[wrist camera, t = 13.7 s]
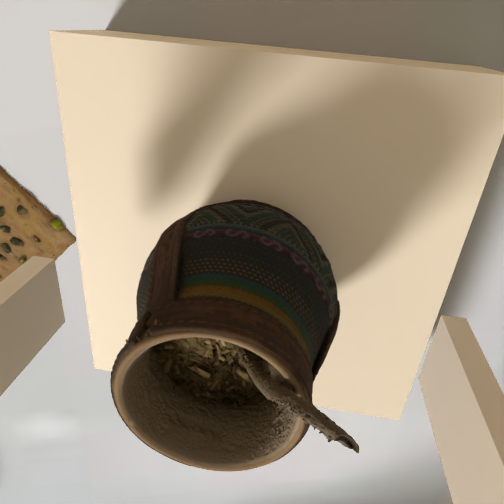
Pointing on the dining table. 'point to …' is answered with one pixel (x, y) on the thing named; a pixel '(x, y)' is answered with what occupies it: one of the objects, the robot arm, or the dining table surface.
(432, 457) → the dining table surface
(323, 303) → the mate gourd
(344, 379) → the cream square slab
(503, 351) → the dining table surface
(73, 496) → the dining table surface
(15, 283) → the robot arm
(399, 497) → the dining table surface
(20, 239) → the cookie
